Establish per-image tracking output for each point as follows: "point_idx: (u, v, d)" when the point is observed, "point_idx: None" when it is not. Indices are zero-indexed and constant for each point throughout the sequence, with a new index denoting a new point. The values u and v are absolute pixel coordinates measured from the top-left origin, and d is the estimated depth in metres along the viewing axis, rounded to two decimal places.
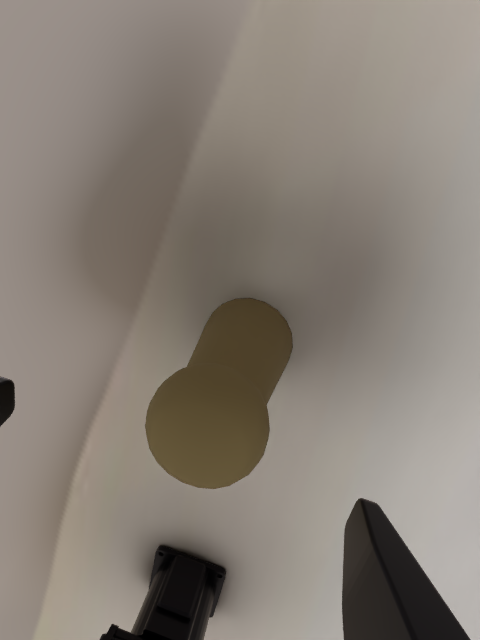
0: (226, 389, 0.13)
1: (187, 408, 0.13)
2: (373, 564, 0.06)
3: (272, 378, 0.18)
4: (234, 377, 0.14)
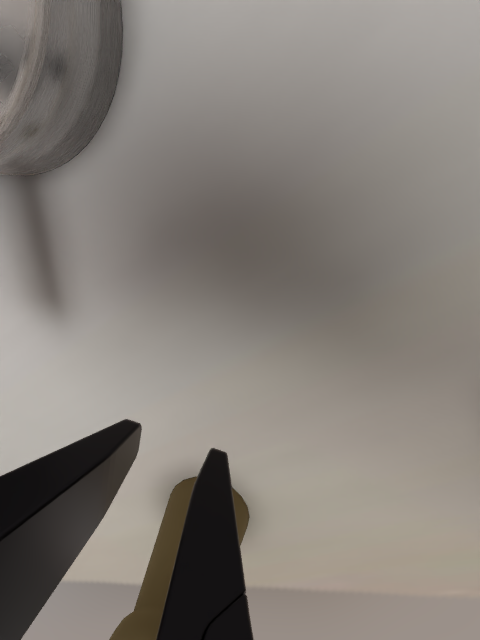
0: None
1: None
2: None
3: (153, 560, 0.20)
4: None
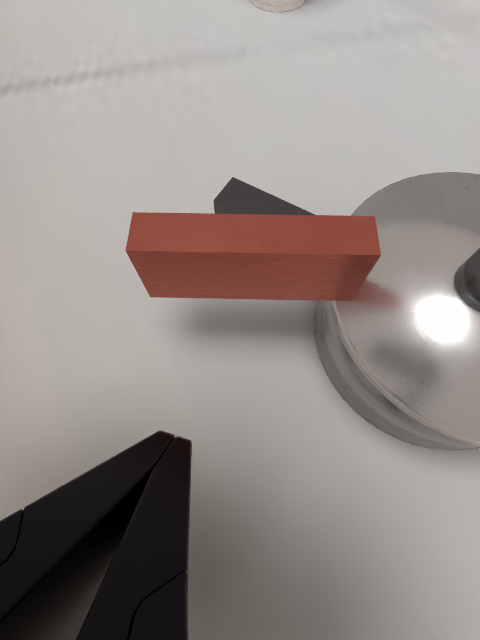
0: None
1: None
2: None
3: None
4: None
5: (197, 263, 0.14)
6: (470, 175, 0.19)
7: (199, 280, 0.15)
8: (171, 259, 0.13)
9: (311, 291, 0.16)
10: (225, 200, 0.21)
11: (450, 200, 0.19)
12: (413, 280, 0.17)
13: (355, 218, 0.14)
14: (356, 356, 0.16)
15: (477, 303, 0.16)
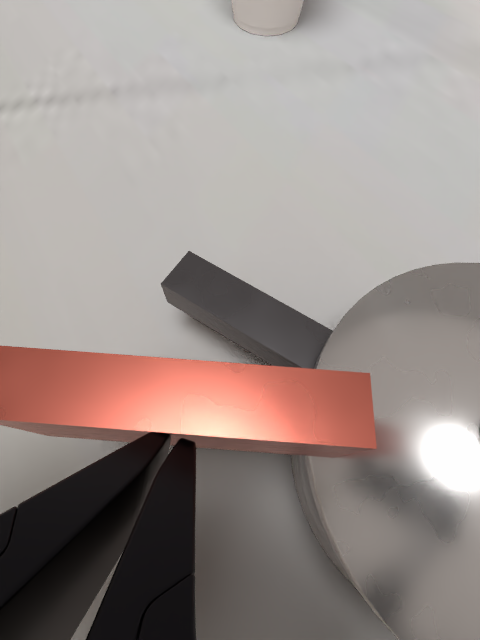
0: None
1: None
2: None
3: None
4: None
5: (92, 430, 0.09)
6: None
7: (106, 436, 0.10)
8: (50, 426, 0.09)
9: (274, 451, 0.11)
10: (176, 284, 0.16)
11: (475, 304, 0.14)
12: (422, 428, 0.12)
13: (339, 375, 0.09)
14: (336, 548, 0.11)
15: None
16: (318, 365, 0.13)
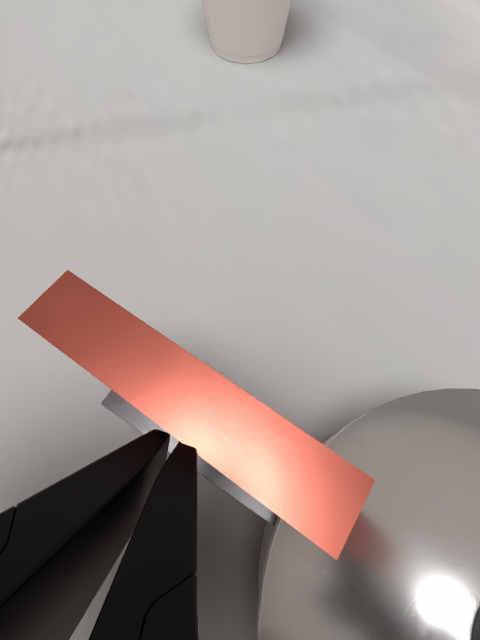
0: None
1: None
2: None
3: None
4: None
5: None
6: None
7: None
8: None
9: None
10: (119, 403, 0.14)
11: None
12: (414, 561, 0.10)
13: (341, 463, 0.08)
14: (259, 617, 0.10)
15: None
16: (340, 433, 0.12)
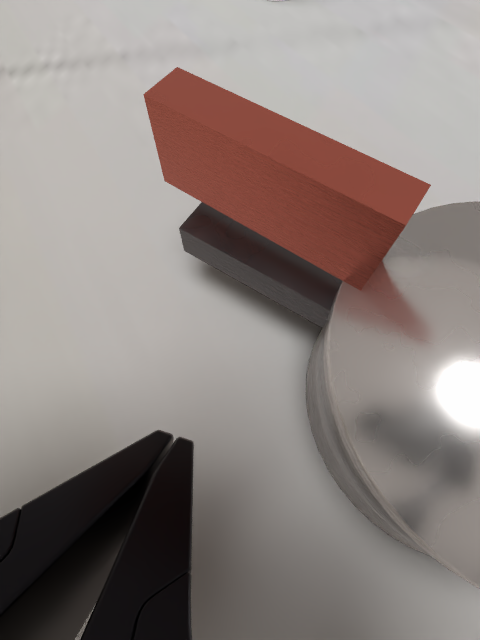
0: None
1: None
2: None
3: None
4: None
5: (208, 147, 0.12)
6: None
7: (208, 176, 0.13)
8: (184, 129, 0.12)
9: (318, 252, 0.13)
10: (194, 228, 0.16)
11: None
12: (450, 309, 0.13)
13: (404, 176, 0.10)
14: (327, 349, 0.13)
15: None
16: None
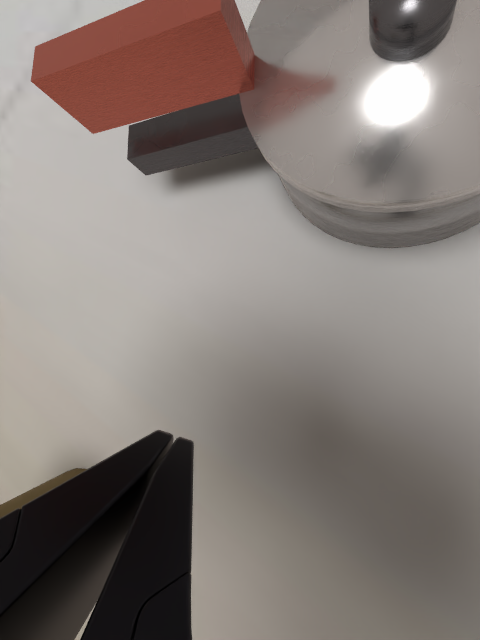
0: None
1: None
2: None
3: (13, 509, 0.19)
4: None
5: (88, 79, 0.16)
6: None
7: (107, 101, 0.17)
8: (68, 81, 0.16)
9: (206, 87, 0.16)
10: (136, 151, 0.20)
11: None
12: (322, 46, 0.15)
13: None
14: None
15: (383, 49, 0.14)
16: (247, 32, 0.17)
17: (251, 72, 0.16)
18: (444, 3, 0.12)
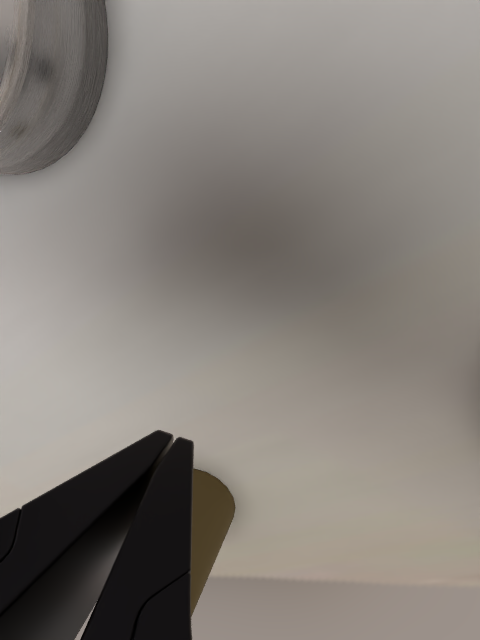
0: None
1: None
2: None
3: None
4: None
5: None
6: None
7: None
8: None
9: None
10: None
11: None
12: None
13: None
14: None
15: None
16: None
17: None
18: None
